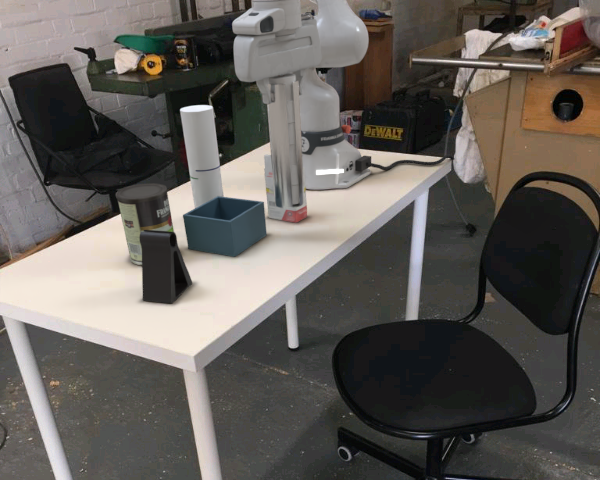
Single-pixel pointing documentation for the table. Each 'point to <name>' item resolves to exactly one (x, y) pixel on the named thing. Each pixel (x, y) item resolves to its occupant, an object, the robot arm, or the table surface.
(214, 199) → the case
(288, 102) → the silver tall cylinder
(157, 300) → the phone stand
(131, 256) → the coffee can
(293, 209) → the ink cartridge box
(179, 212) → the table surface
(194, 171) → the cylindrical container
